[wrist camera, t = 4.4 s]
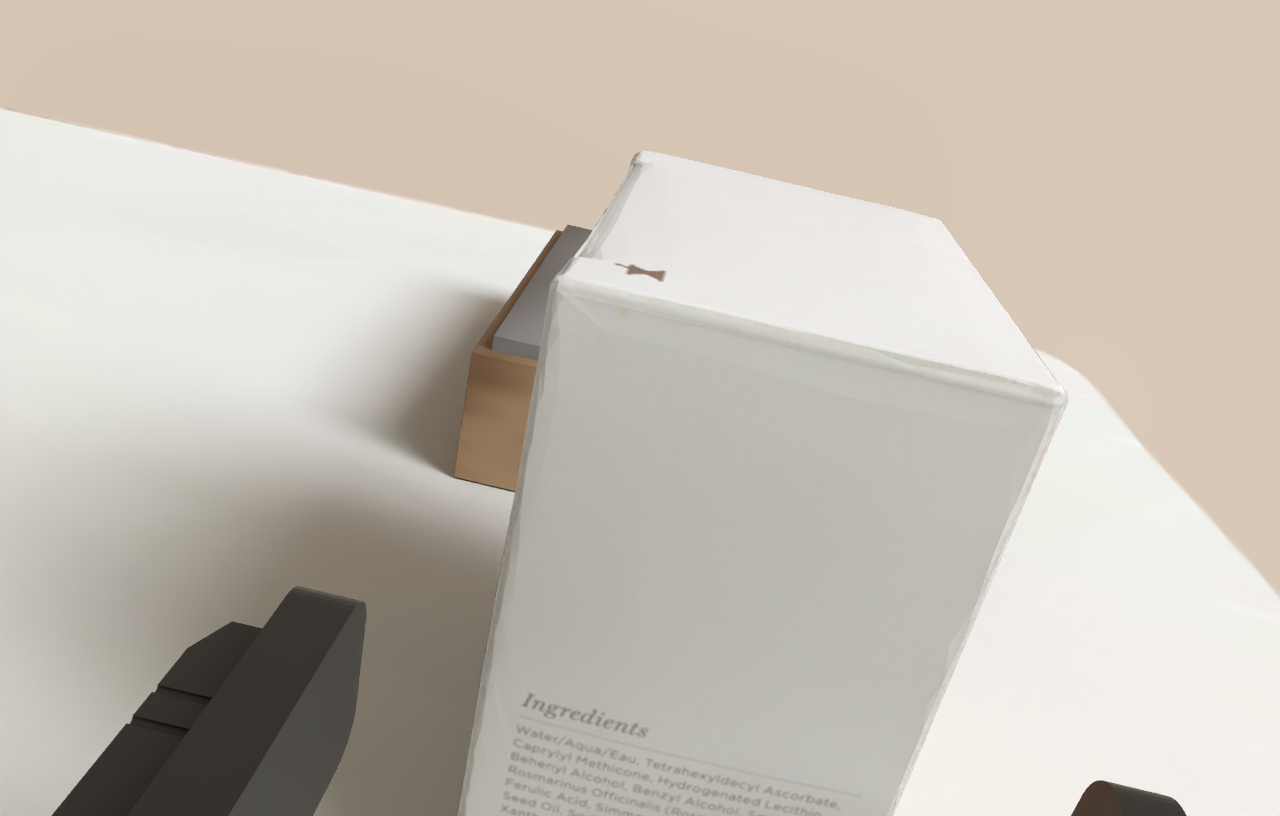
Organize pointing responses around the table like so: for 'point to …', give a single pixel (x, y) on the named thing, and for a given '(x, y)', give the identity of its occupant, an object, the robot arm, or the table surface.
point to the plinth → (509, 372)
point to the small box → (750, 505)
